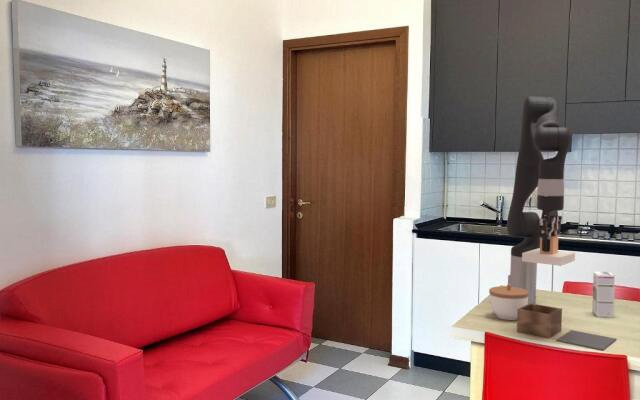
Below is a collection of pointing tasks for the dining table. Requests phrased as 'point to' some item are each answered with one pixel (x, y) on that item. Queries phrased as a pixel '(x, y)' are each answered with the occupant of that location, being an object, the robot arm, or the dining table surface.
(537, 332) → the storage box
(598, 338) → the mat
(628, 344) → the dining table surface
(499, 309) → the lidded bowl
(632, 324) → the dining table surface
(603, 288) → the syrup box
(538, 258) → the lid
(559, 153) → the robot arm
